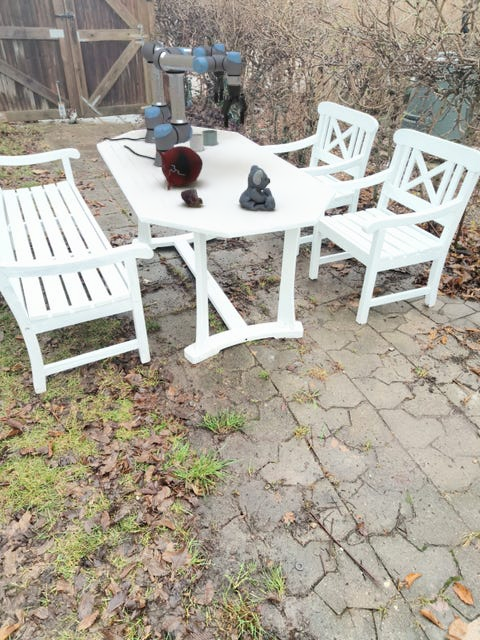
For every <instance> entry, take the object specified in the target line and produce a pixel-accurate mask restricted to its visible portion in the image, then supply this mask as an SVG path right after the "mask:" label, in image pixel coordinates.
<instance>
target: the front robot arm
mask: <svg viewBox="0 0 480 640" xmlns="http://www.w3.org/2000/svg"><path fill="white" fill-rule="evenodd" d="M171 47H172V48H161V49H158V50H157V51H155V53H154V55H153V64H154V66H155V67H156V68H157V69H158V70H160V71H162V72H165V74H166V75H167V76H168V83H169V95H170V107H171V120H170V121H169V123H161V125H158V126H156V127H155V128H154V136H155V143H154V145H155V155H154V157H151V156H147V155H143V154H140V153H137V152H135V151H134V150H133V149H132V148H131V147H129V146H127V145H125V144H124V145H123V146H124V147H125V148H127V149H129V150H130V152H132V153H133V154H135V155H136V156H139V157H142V158H148V159H152V160H154V165H155V166H157V167H161V168H162V160H161V158H162V157H161V155H160V154H159V152H158V150H160V151H161V152H162V154H164V153H165V152H166V151H168V150H170V149H172V148H174V147H175V145H180V144H185V143H187V142H190V141H189V140H190V139H191V138H192V134H194V133H193V132H194V131H193V127H192V125H191V123H189V120H188V119H187V117H186V116H187V115H186V103H185V89H184V88H185V87H184V86H185V85H184V75H185V74H186V72H194V73H196V74H206V73H207V74H208V73H214V72H216V71H224V72H226V73H227V74H226V78H227V80H226V82H227V87H226V88H227V93H228V95H223V101H222V102H223V103H222V106H221V109H220V115H221V116H222V117H223V127H224V128H226V129H229V128H230V127H229V115H228V114H229V112H230V110H231V108H232V106H233V105H234V104H237V107H238V108H239V109H240V111H239V123H240V124H242V125H245V117H246V112H247V110H248V109H249V108H248V105H247V101H246V99H245V93H244V92H242V85H241V84H242V54H241V52H239V51H227V53H226V55H225V56H223V55H213V56H207V57H201V56H189V55H187V54H186V52H185V51H184V50H183V49H182V48H179V47H180V46H171Z"/></svg>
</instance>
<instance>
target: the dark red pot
mask: <svg viewBox="0 0 480 640" xmlns="http://www.w3.org/2000/svg"><path fill="white" fill-rule="evenodd" d="M158 152H159V154H160V155H161V157H162V158H161V160H162V167H161V173H162V174H163V176H164V178H165V180H166V182H167V190H169V191H170V188H171V185H172V186H177V187H178V186H180V187H183V186H188V185H191V184H193V183H194V182H195V181H196V180H198V177H199V176H200V174H201V172H202V169H203V159H202V157H201V156H200V155H199V154H198V153H197V152H195V151H193V150H192V149H190V146H189V147H188V146H183V145H178V146H174V148H172V149H170V150H168V151H166V152H165V153H164V154H162V152H161V151H160V150H158Z"/></svg>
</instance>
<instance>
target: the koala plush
mask: <svg viewBox="0 0 480 640" xmlns="http://www.w3.org/2000/svg"><path fill="white" fill-rule="evenodd" d="M270 183H271V178H269V176H268V175H267V173H266V172H265V170H264V169H263V168H261V167H259V165H257V164H253V165H250V170H249V173H248V176H247V188H246V189H245V190H244V191H243V192H242V193H241V194H240V197H239V199H238V203H239V204H240V206H241V207H242V208H246V209H247V210H252V211H255V210H261V211H272V210H274V209H275V208H276V200H275V198H274V196H273V194H272V191H271V188H270V187H268V186H269V185H270Z"/></svg>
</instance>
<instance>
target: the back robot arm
mask: <svg viewBox="0 0 480 640" xmlns="http://www.w3.org/2000/svg"><path fill="white" fill-rule="evenodd" d="M172 47H173V46H164V45H163V44H162V43H161V42H159V41H149V42H145V43H143V45H142V47H141V49H140V51H141V52H140V53H141V56H142V58H143V59H144V60H145V61H146V62H147V65H148V66H149V72H150V81H151V93H152V94H151V95H152V102H151V104H150V105H151V106H148V107H145V109H144V120H145V121H144V122H145V128H146V133H145V137H139V138H131V137H119V138H110V137H103V139H102V141H105V140H109V141H120V140H130V141H140V140H145V142H146V143H149V144H155V136H154V128H155V127H156V126H158V125H161V124H164V123H165V122H166V121H168V119H169V118H170V109H169V108H168V104H167V102H166V100H165V91H164V79H163V78H164V77H163V71H160V70H158V69H157V68H156V67H155V66H154V64H153V55H154V53H155V51H157V50H158V49H161V48H172ZM178 47H179V48H182V49H183V50H184V51H185V52H186V54H187V55H189V56H201V57H207V56H213V55H223V56H226V46H225V44H224V43H214V45H213V46H208V45H199V46H197V47H195V46H178ZM213 75H214V76H216V77H214V83H213V91H212V94H213V95H214V96H213V102H214V104H219V101H220V102H224V92H225V84H224V83H225V82H224V76H225V71H216V72H213Z"/></svg>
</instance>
